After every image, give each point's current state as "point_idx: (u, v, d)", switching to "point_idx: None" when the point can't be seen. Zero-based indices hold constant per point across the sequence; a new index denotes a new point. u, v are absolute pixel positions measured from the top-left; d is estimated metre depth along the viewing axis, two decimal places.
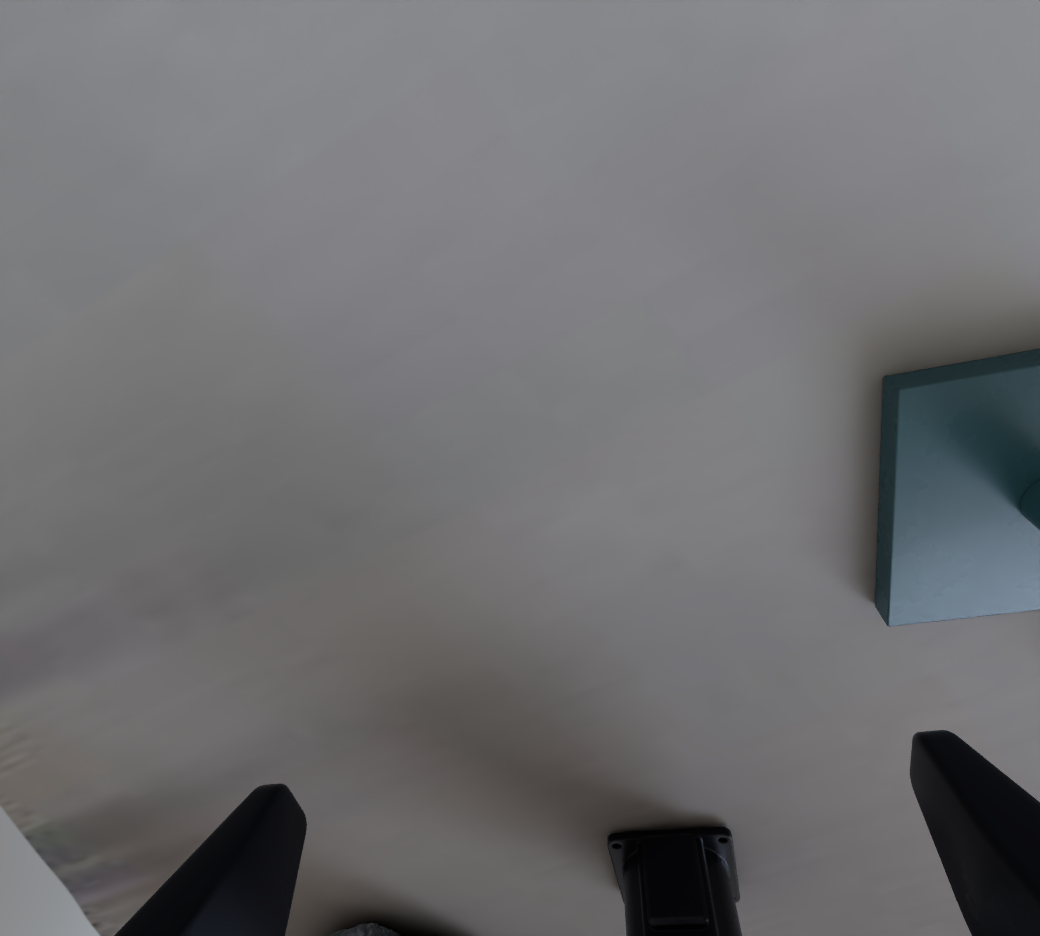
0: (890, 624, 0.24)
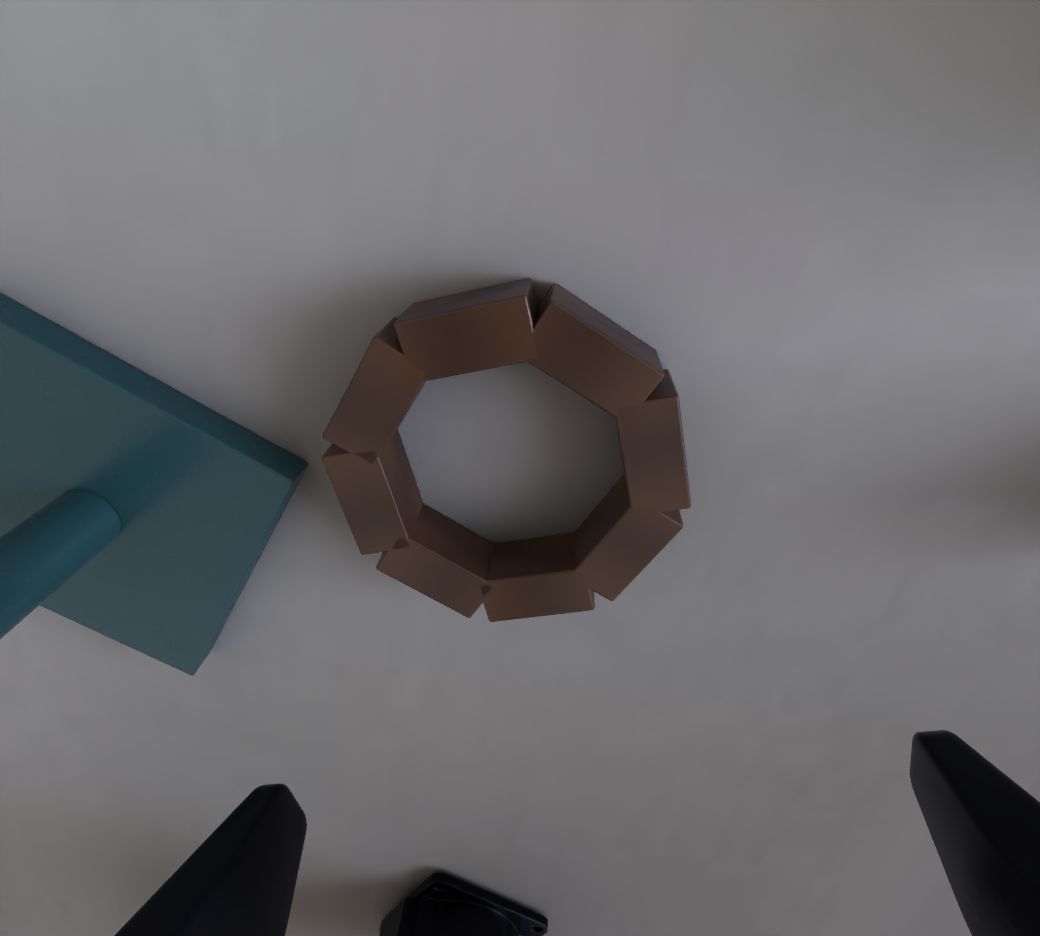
0: None
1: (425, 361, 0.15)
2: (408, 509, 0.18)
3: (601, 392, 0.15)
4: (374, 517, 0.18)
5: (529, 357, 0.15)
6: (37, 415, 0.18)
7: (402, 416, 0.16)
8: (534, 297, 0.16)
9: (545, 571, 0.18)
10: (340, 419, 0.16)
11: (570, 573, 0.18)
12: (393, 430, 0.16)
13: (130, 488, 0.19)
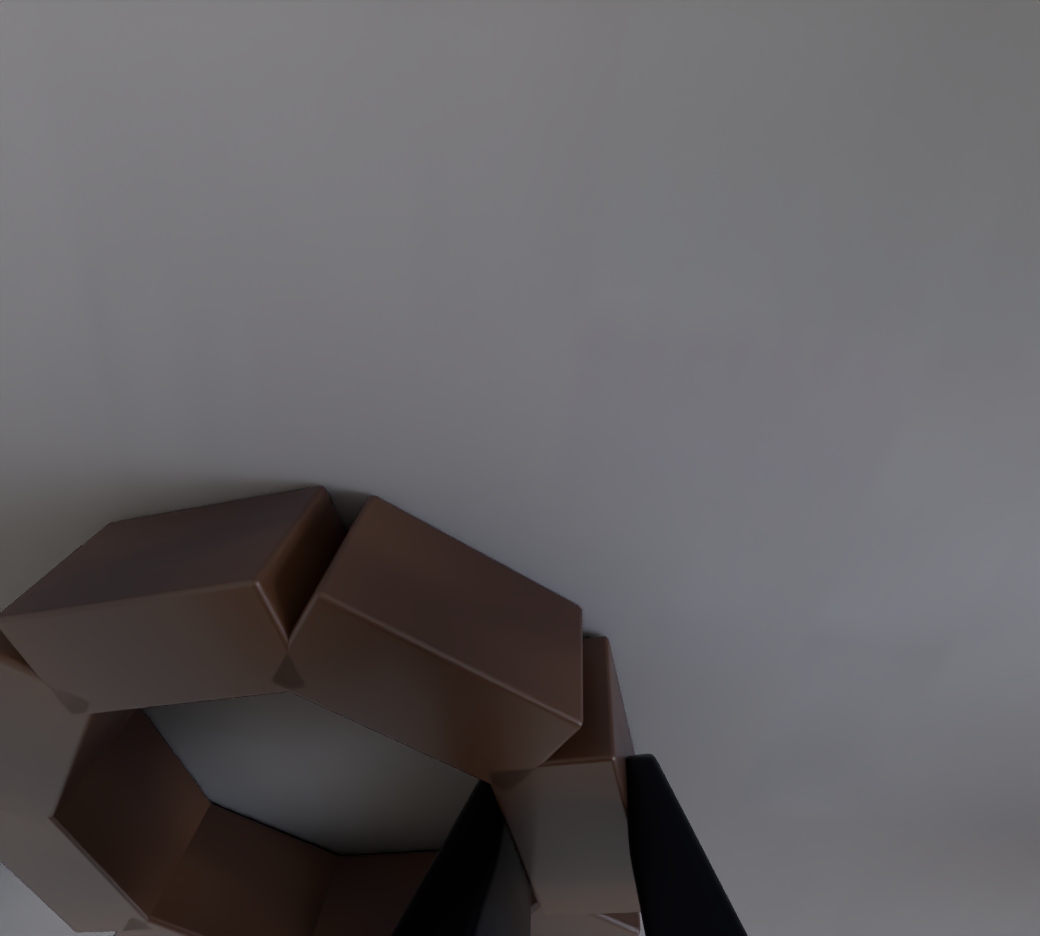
0: None
1: (81, 685, 0.07)
2: (155, 854, 0.10)
3: (453, 746, 0.07)
4: (77, 891, 0.10)
5: (291, 687, 0.07)
6: None
7: (71, 763, 0.08)
8: (327, 527, 0.08)
9: None
10: None
11: None
12: (62, 782, 0.08)
13: None
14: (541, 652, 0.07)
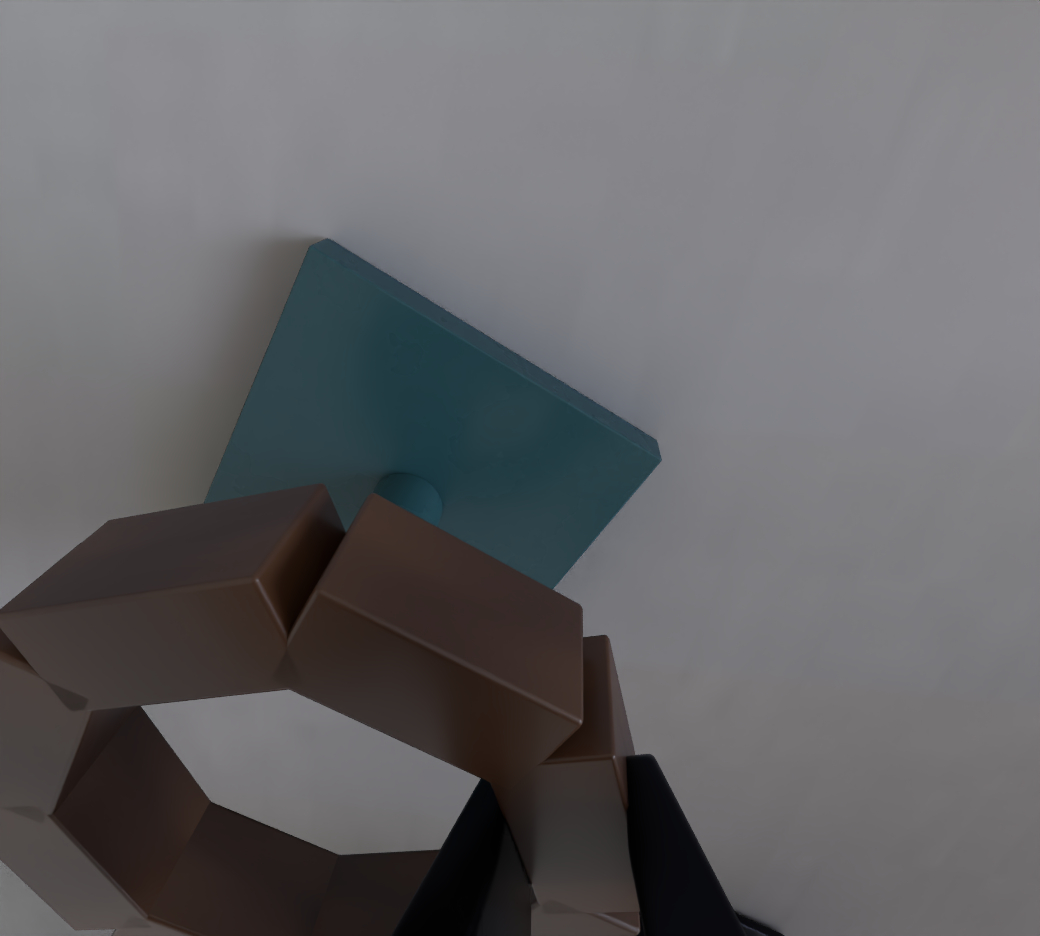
0: None
1: (81, 681, 0.07)
2: (154, 852, 0.10)
3: (453, 744, 0.07)
4: (75, 888, 0.10)
5: (290, 684, 0.07)
6: (377, 387, 0.16)
7: (70, 760, 0.08)
8: (327, 525, 0.08)
9: None
10: None
11: None
12: (61, 779, 0.08)
13: (465, 471, 0.17)
14: (541, 650, 0.07)
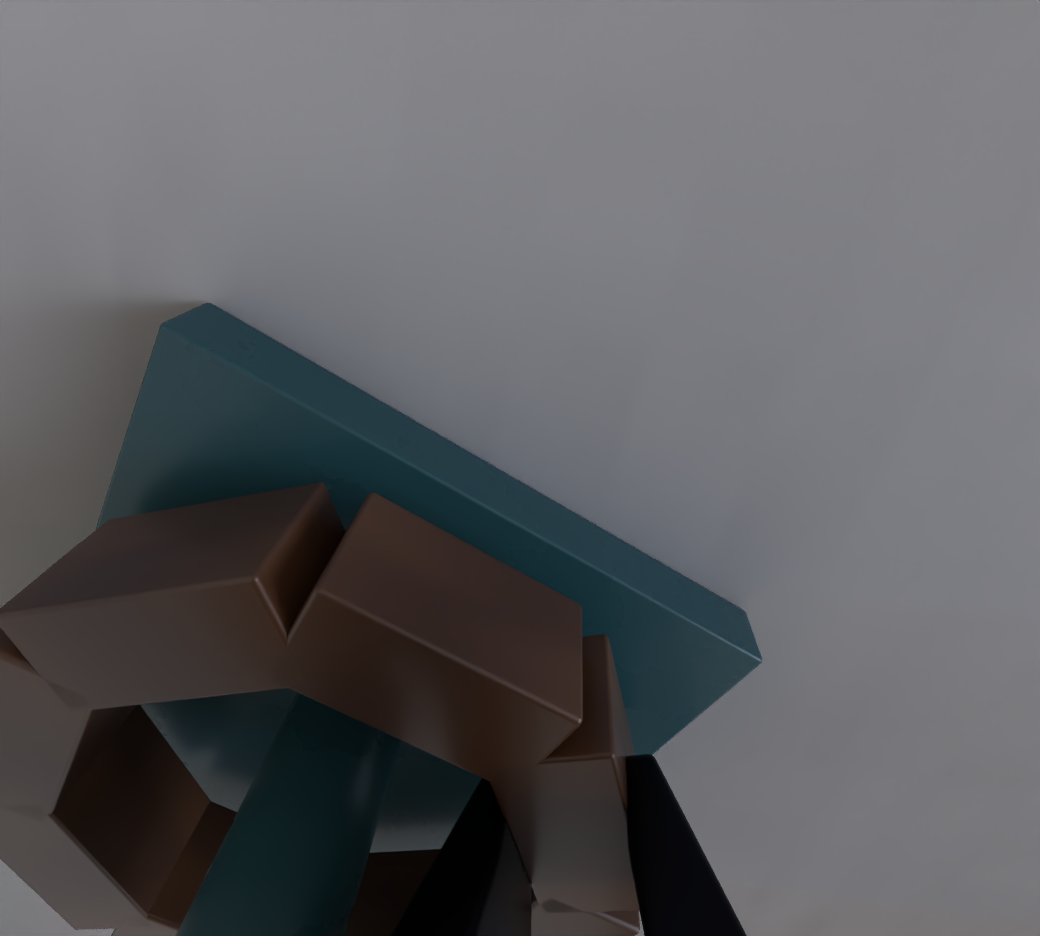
0: None
1: (81, 681, 0.07)
2: (154, 852, 0.10)
3: (452, 743, 0.07)
4: (75, 888, 0.10)
5: (290, 683, 0.07)
6: None
7: (70, 760, 0.08)
8: (327, 524, 0.08)
9: None
10: None
11: None
12: (61, 778, 0.08)
13: None
14: (541, 649, 0.07)
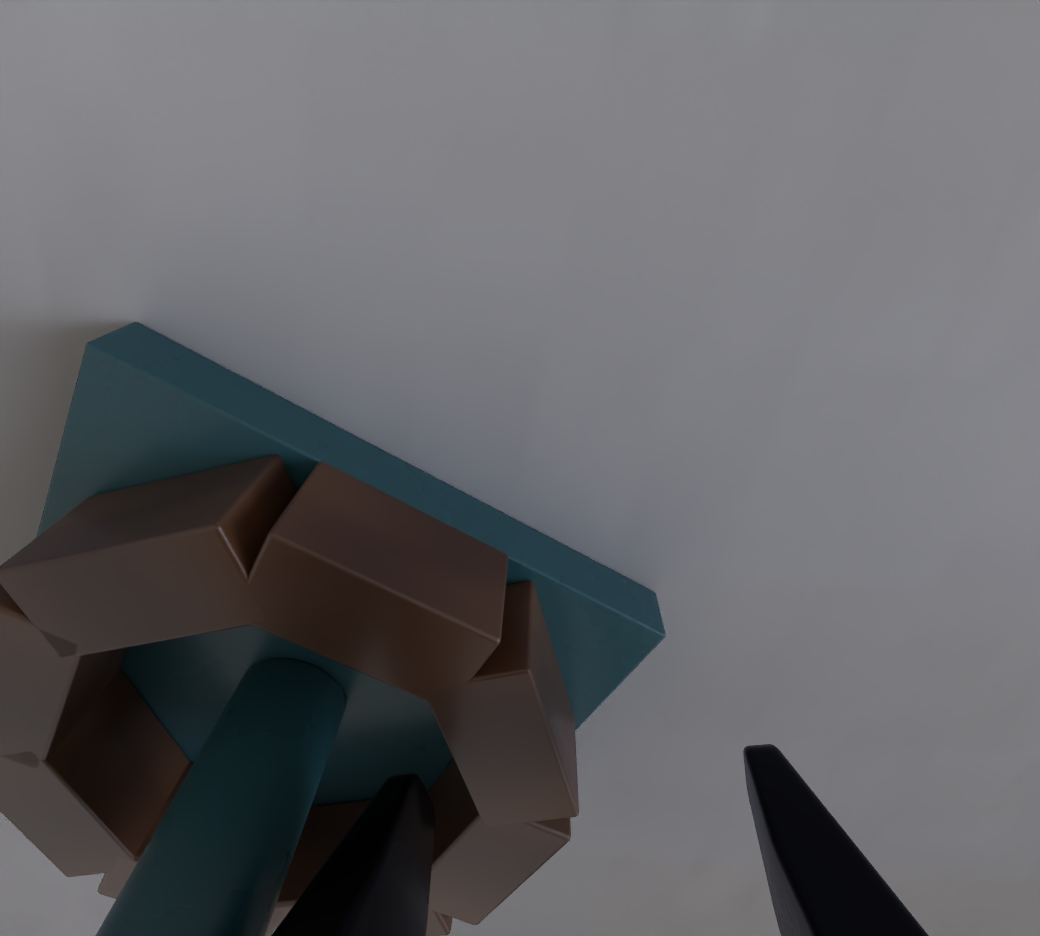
0: None
1: (70, 628, 0.08)
2: (138, 801, 0.11)
3: (394, 667, 0.09)
4: (67, 834, 0.11)
5: (252, 620, 0.08)
6: None
7: (61, 705, 0.09)
8: (282, 489, 0.09)
9: None
10: None
11: None
12: (54, 724, 0.09)
13: None
14: (467, 586, 0.09)
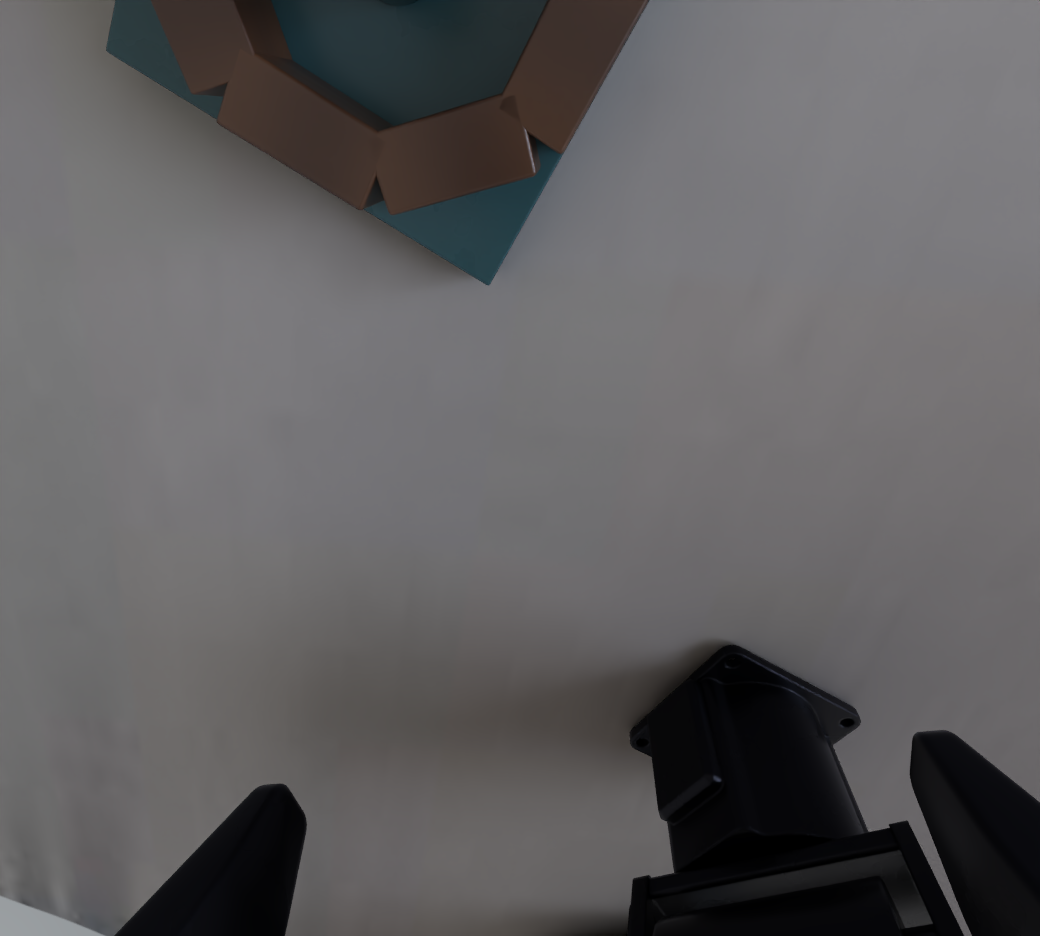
0: None
1: None
2: (255, 21, 0.12)
3: None
4: (197, 9, 0.12)
5: None
6: None
7: None
8: None
9: None
10: None
11: (496, 104, 0.12)
12: None
13: None
14: None
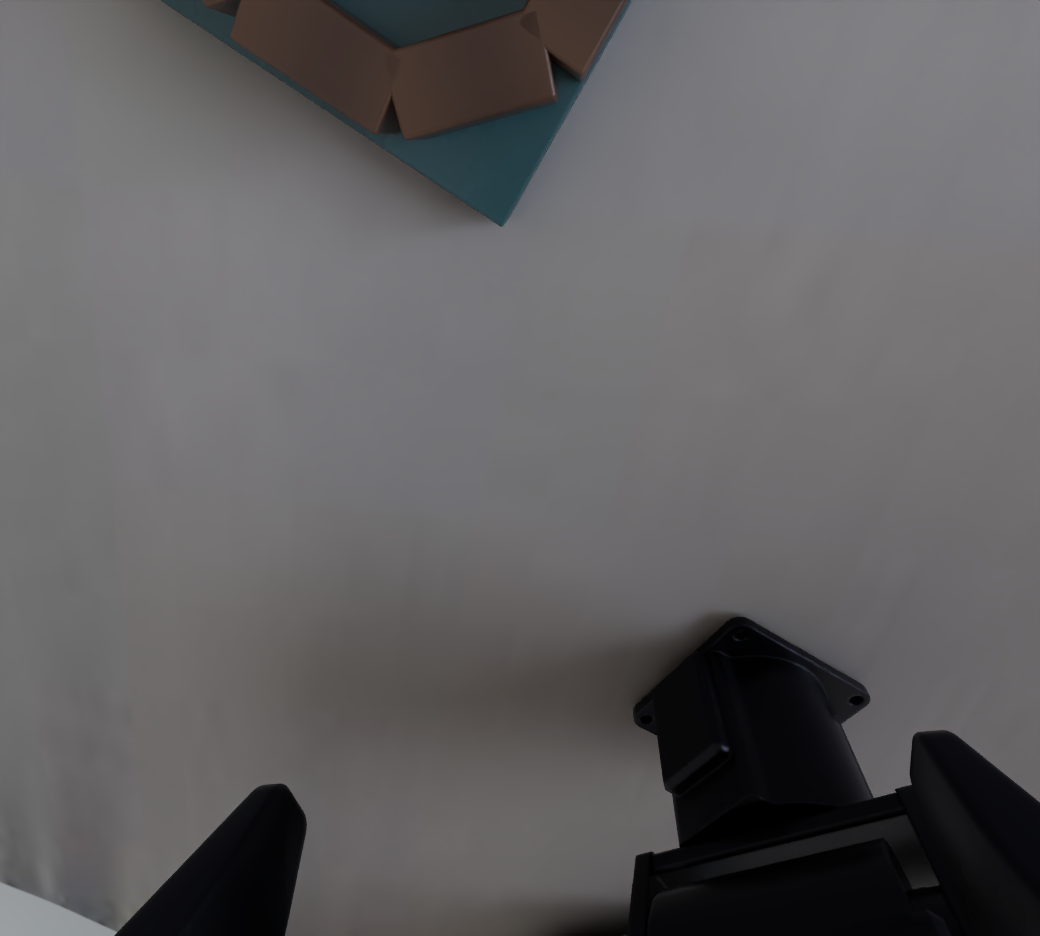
0: (504, 222, 0.16)
1: None
2: None
3: None
4: None
5: None
6: None
7: None
8: None
9: (480, 22, 0.12)
10: None
11: (516, 21, 0.12)
12: None
13: None
14: None
